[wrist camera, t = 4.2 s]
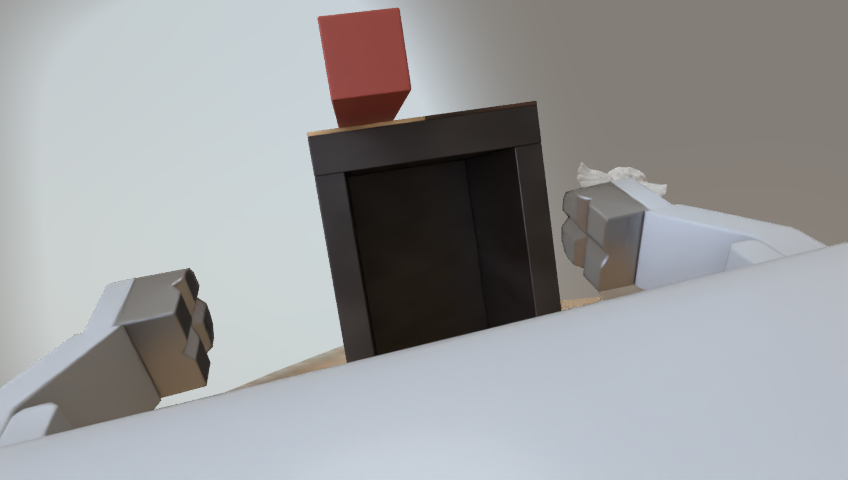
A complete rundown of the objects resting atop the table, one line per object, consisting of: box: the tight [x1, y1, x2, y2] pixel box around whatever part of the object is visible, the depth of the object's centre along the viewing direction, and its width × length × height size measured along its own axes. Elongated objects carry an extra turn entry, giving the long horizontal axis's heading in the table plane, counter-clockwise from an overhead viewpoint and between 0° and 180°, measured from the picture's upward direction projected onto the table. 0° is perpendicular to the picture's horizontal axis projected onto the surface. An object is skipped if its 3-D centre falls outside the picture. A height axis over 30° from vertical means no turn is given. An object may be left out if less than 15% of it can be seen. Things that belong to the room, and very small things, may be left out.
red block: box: [318, 8, 411, 128], centre depth 29 cm, size 3×22×3 cm, turn 8°
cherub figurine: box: [577, 162, 667, 302], centre depth 68 cm, size 12×12×22 cm
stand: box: [307, 101, 561, 363], centre depth 35 cm, size 12×14×26 cm
